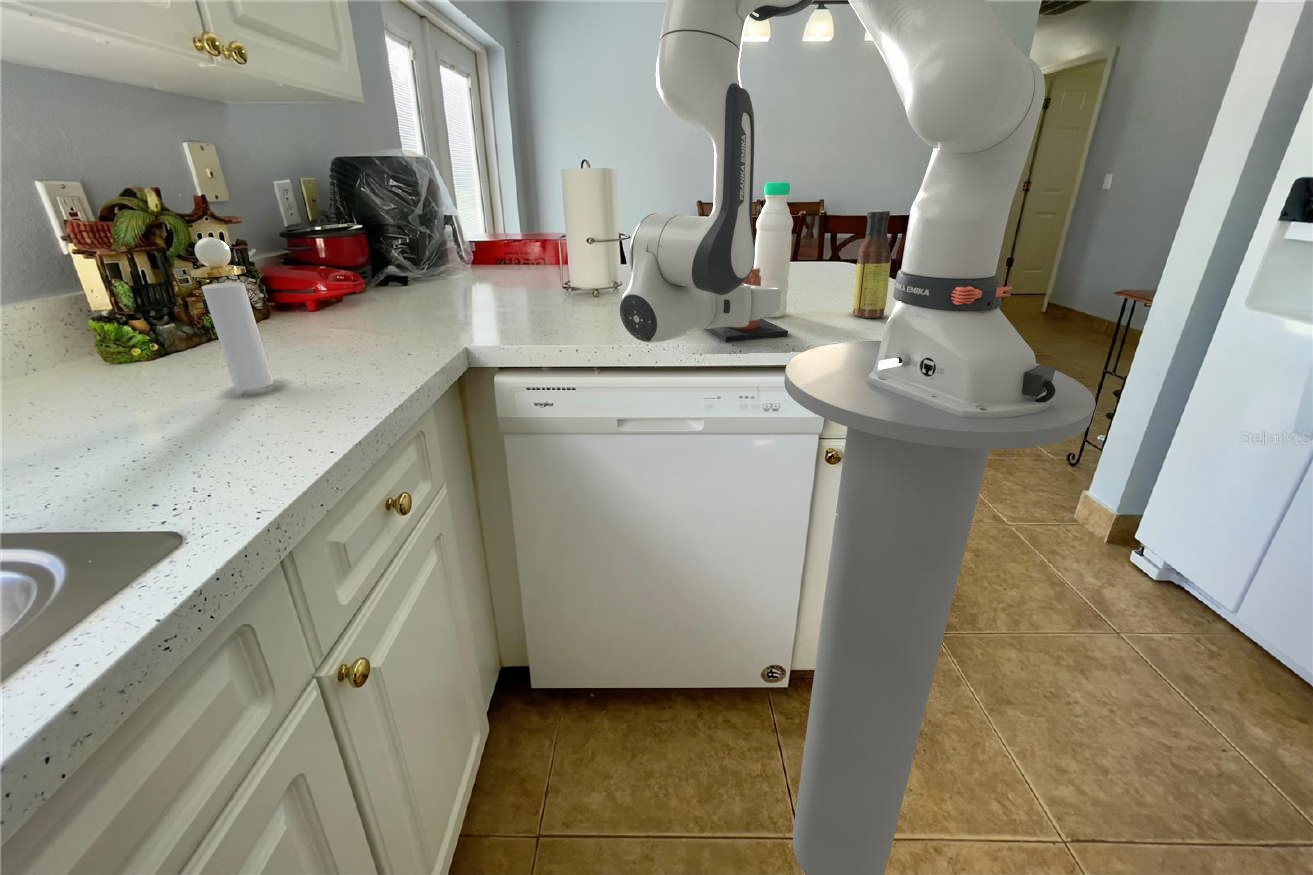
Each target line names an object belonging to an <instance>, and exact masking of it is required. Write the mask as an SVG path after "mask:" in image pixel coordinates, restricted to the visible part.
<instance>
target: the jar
mask: <svg viewBox="0 0 1313 875" xmlns="http://www.w3.org/2000/svg"><path fill="white" fill-rule="evenodd" d="M760 271H761V270H760V267H757V266H754V265H753V269H752V271H751V273H750V275H749V276H748V278H747V279H746V280H745V281H744V282H743V284H747V285H755V286H761V281H762V276H761V275H760ZM758 327H759V319H758V320H753V321H749V325H748V326H745V327H728V328H731V329H738V330H749V329H755V328H758Z"/></svg>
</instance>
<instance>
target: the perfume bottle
mask: <svg viewBox="0 0 1313 875" xmlns="http://www.w3.org/2000/svg"><path fill="white" fill-rule="evenodd" d="M194 255H195V257H196V258H197V260H198V261H199V262H200V263H201V264H202V265H203V267H200V268H197V269H193V270H190V271H189V273H190V275H191V277H193V278H219V277H228V276H235V275H236V276H237V275H242V274H245V273H247V268H246V266H243V265H234V264H230V262H231V259H232V252H231V249H230V247H229V246H228V245H227V244H226V242H224V241H223V240H221V239H219V238H216V237H214V236H213V237H211V236H207V237H203V238H201V239H199V240H198V241H196V243H195V245H194ZM201 290H202V293H203V296H204V298H202V299H201V302H202V305H203V309H204V311H205V314H206V315H208V317H209V320H210V321H211V320H212V323H213V327H214V330H215V333H216V336H217V338H218V341H219V342H218V343H219V345H220V348H221V351H222V354H223V357H224V360H225V363H226V366H227V369H228V373H229V375H230V378H231V382H232V385H233V388H234V389H235V390H237V391H249V390H250V391H251V390H256V389H261V388H264V387H267V386H270V385H272V384H273V383H274V378H273V375H272V372H271V369H270V365H269V362H268V359H267V355H266V352H265V349H264V345H263V342H262V337H261V334H260V331H259V328H258V325H257V322H256V318H255V315H254V311H253V308H252V305H251V301H250V298H249V294H248V291H247V288H246V285H245V282H239V281H236V282H235V281H231V282H217V283H210V284H206V285H202V286H201Z"/></svg>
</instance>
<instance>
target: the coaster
mask: <svg viewBox="0 0 1313 875" xmlns="http://www.w3.org/2000/svg"><path fill="white" fill-rule="evenodd" d="M704 330H705V331H707V332H709V333H710V334H712V335H714V336H716V337H717V338H719V339H720V340H722V341H723V342H725V343H731V342H740V341H748V340H750V341H751V340H761V339H771V338H781V337H788V336H789V330H787V329H786V328H784V327H781V326H780V325H777V324H775V323H773V322H771V321H768V320H766V319H764V318H761V319H759V327H758V328H755V329H749V330H738V329H731V328H728V327H716V328H710V329H704Z"/></svg>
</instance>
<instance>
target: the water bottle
mask: <svg viewBox="0 0 1313 875" xmlns="http://www.w3.org/2000/svg"><path fill="white" fill-rule="evenodd" d="M763 192H764V198H765V204H764V205H763V207H762V209H761V210H760V211H761V212H760V214H759V216H758V218H757V220H756V223H755V229H756V235H755V260H754V265H753V266H757V267H760V270H761V271H760V275H761V276H762V281H761V286H765V287H775V288H778V289H780V292H781V301H780V307H779V310H778V311H777V312H775V313H773V314H771V315H769V316H767V317H766V318H780V317H783V316H784V315H786V313H787V308H788V306H787V305H788V302H787V301H788V300H787V295H788V290H789V273H790V266H791V265H790V264H791V254H792V241H793V240H792V237H793V236H792V230H793V227H794V220H793V217H792V214H791V213H790V212H791V211H790V207H789V205H788V202H787V199H788V198H789V195H790V192H791V185H790V183H789V182H788V181H768V182H766V183H765V184H764V188H763Z"/></svg>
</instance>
